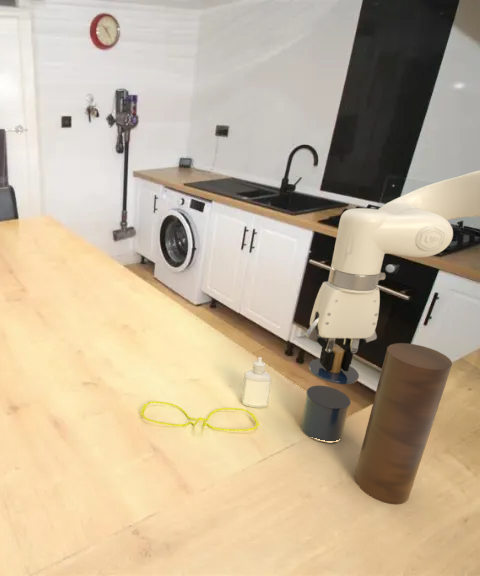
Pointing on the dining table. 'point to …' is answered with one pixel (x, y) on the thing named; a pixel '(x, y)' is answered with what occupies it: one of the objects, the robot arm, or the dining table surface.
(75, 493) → the dining table surface
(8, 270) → the dining table surface
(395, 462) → the brown wooden cylinder
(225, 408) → the glasses
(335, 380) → the lid
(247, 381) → the eye dropper bottle
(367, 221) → the robot arm
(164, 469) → the dining table surface
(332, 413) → the canister
